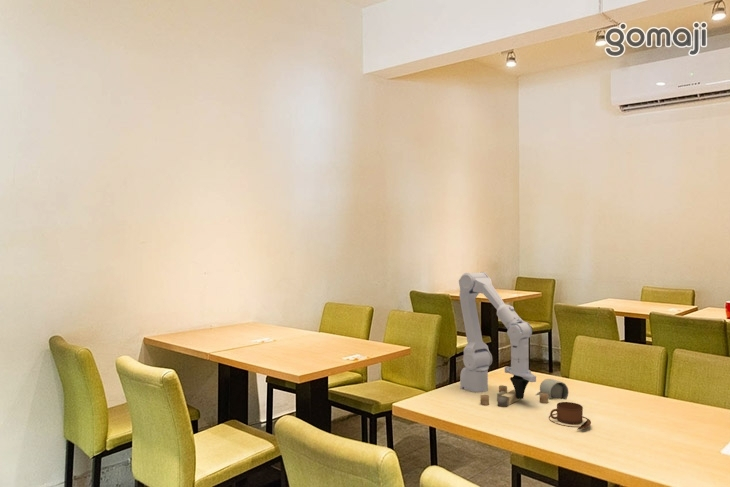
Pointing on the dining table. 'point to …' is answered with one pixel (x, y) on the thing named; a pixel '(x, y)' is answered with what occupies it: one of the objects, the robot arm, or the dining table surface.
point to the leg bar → (507, 399)
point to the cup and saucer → (570, 414)
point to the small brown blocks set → (503, 389)
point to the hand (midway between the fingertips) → (519, 398)
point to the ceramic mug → (554, 389)
